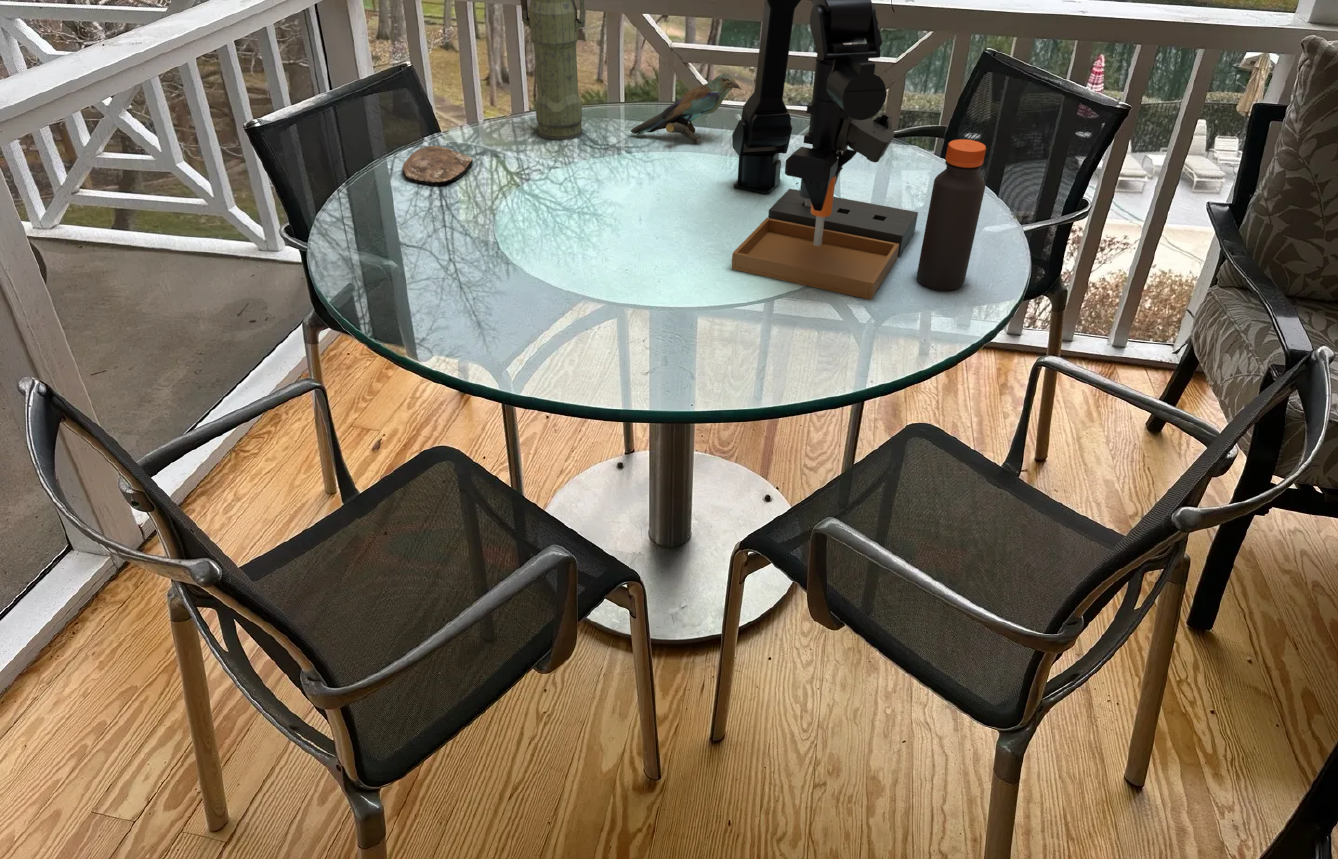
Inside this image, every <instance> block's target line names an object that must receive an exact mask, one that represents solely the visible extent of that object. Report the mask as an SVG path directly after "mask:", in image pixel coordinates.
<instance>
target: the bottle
mask: <svg viewBox="0 0 1338 859" xmlns="http://www.w3.org/2000/svg"><path fill="white" fill-rule="evenodd" d="M986 151H987V147H986V145H985V144H984V143H982V142H980V141H977V140H972V139H960V138H959V139H953V140H951V141H949V142H948V143H947V149H946V154H945V158H944V159H945V161H944V164H945V165H946V167H945V169H944V170H943V171H941V172H940V173H939V174H937V175H936V176H935V178H934V180H933V185H932V191H931V195H930V201H929V206H928V212H927V216H926V217H927V218H926V222H925V228H924V234H923V239H922V244H921V250H920V254H919V255H920V256H919V261H918V265H917V266H918V267H917V271H916V279H917V281H918V282H919V283H920V284H921V285H923V286H924V287H926V288H928V289H932V290H936V291H942V292H943V291H944V292H947V291H954V290H958V289H959V288H961V287H963V285H964V284H965V282H966V278H967V272H968V269H969V268H968V267H969V264H970V259H971V255H972V249H973V245H974V242H975V241H974V240H975V236H976V231H977V226H978V222H979V217H980V213H981V209H982V204H983V200H984V195H985V190H986V182H985V180H984V179H983V177H982V176H981V174H980V169H981V168H983V164H984V161H985V155H986Z"/></svg>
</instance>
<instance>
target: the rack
mask: <svg viewBox="0 0 1338 859" xmlns="http://www.w3.org/2000/svg"><path fill="white" fill-rule="evenodd" d="M804 205H805V198H803V197H801V196H800V189H795V188H788V189H787V191H786V192H784V194H783V195H781V197H780V198H779V199H777V201H776V202H775V203H773V205H772V206H771V207H770V208H769V209H768V216H767V218H770V219H776V220H781V221H786V222H791V223H796V224H801V225H806V226H811V227H815V225H816V216H814V215H812V214H811V207H807V206H804ZM918 216H919V212H918V211H914V210H909V209H904V208H898V207H893V206H886V205H880V204H876V203H870V202H866V201H859V200H854V199H848V198H844V197H838V196H834V197H833V205H832V213H831V215H830V216H827V217H825V219H824V228H823V229H826V230H831V231H837V232H842V233H847V234H852V235H857V236H862V237H867V238H872V239H877V240H882V241H887V242H892V243H898V244H899V250H898V256H897V258H899V257H900V256H901V255H902V253H903V252H904V250H905V249H906V247H907V245H908V243H909V242H910V240H912V238H913V237H914V234H915V233H916V228H917V221H918Z"/></svg>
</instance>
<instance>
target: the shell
mask: <svg viewBox="0 0 1338 859" xmlns="http://www.w3.org/2000/svg"><path fill="white" fill-rule="evenodd" d="M473 161H474V160H473V158H472V157H471V156H469V155H466V154H464V153H461V152H460V151H455V150H453V149H451V148H448V147H443V146H441V145H428V146H425V147H424V146H423V147H421V148H419V149H417V150H415V151H414V152H412V153H411V154H410V155H409V157H408V158H406V160H405V161H404V163H403V164H402V168H401V171H402V174H403V176H404V178H405V180H407V181H410V182H412V183H419V184H422V185H430V186H442V185H445V184H447V183H448V182H452V181H457V180H459V179H460V178H461V177H463V176H464V175H466V174H467V173H468V171H469V170H470V169H471V167H472V166H473Z"/></svg>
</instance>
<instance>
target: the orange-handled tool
mask: <svg viewBox="0 0 1338 859" xmlns="http://www.w3.org/2000/svg"><path fill="white" fill-rule="evenodd" d="M835 180H836V176H835V177H833V178H832V179H831V181H830V184H829V188H828V191H827V195H826V198H825V202H824V205H823V208H822V210H821V211H817V210H814V208H813V205H812V204H811V214H812V215H814V216H816V225H815V234H814V243H813V245H814V246H821V245H822V236H823V228H824V219H825V217H827V216H830V215H831V213H832V205H833V197H835V196H834V195H835V188H836V185H835Z"/></svg>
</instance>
